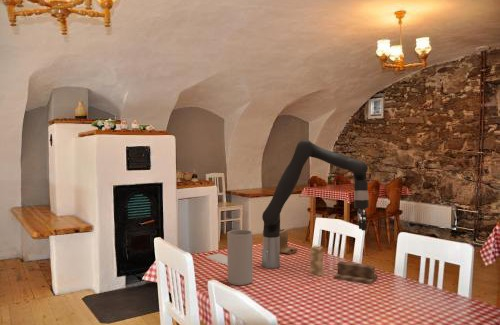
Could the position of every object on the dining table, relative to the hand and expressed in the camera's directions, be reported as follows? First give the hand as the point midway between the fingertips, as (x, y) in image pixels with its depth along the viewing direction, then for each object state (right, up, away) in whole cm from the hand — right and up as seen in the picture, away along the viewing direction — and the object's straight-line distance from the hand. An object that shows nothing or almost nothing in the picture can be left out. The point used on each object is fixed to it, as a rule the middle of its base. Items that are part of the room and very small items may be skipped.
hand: (362, 229), depth 239 cm
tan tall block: (-25, -23, -1) cm, 34 cm away
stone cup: (-39, -21, +44) cm, 62 cm away
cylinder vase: (-65, -24, -13) cm, 70 cm away
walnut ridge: (-6, -23, -9) cm, 26 cm away
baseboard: (-74, -23, +24) cm, 81 cm away
